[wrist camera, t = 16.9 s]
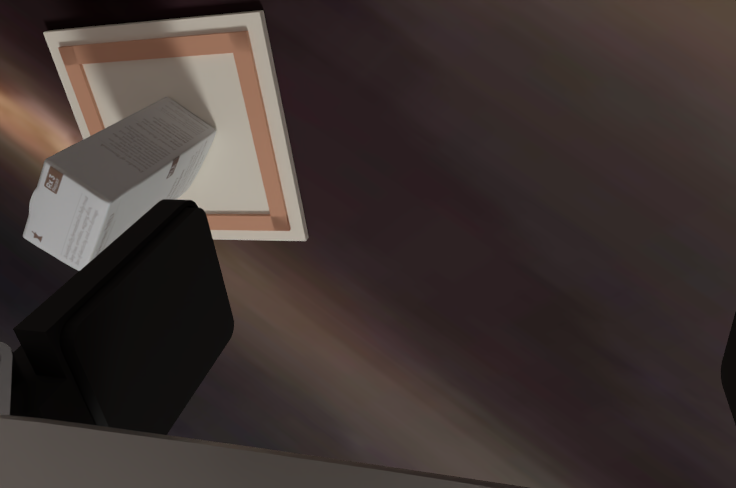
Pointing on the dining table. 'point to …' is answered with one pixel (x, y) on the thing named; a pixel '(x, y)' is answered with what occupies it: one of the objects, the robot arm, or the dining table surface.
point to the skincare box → (115, 180)
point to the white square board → (197, 108)
